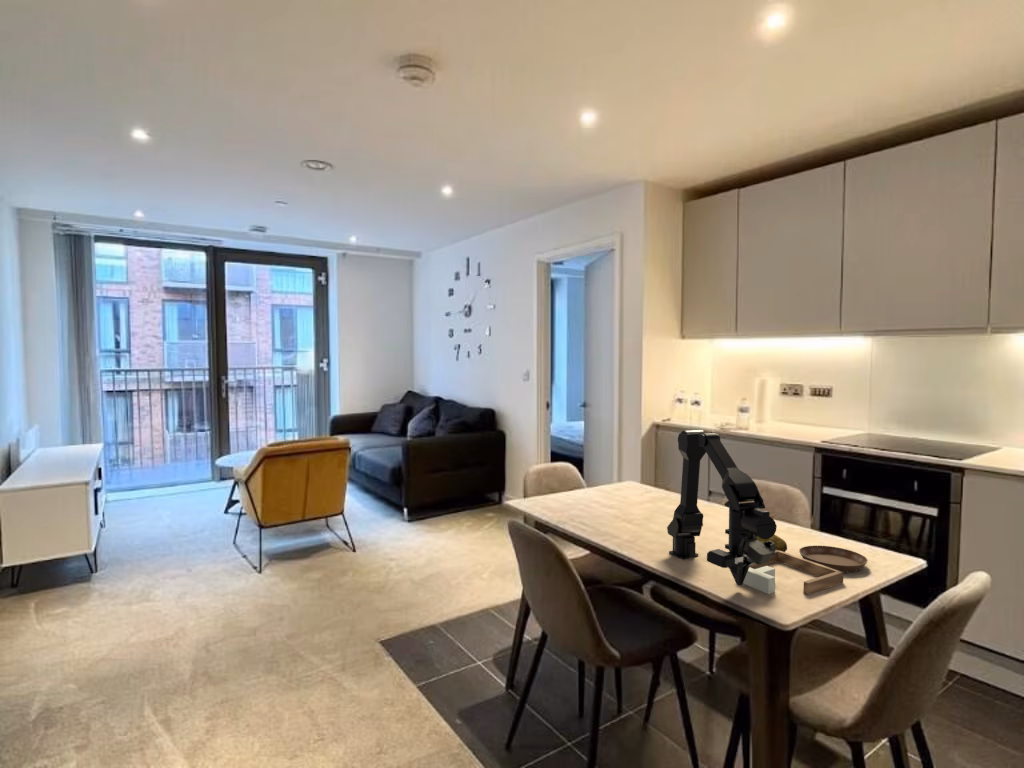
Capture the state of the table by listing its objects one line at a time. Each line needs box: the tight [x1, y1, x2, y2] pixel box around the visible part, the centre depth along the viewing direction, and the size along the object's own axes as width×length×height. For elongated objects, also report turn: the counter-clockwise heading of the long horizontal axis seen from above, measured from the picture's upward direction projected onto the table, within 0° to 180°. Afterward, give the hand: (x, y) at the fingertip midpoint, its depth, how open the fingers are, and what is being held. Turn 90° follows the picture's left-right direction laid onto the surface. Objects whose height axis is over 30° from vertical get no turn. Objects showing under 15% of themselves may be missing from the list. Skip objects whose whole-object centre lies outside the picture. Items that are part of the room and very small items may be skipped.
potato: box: [757, 534, 788, 553], centre depth 180 cm, size 8×13×8 cm, turn 38°
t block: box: [742, 565, 776, 595], centre depth 154 cm, size 10×8×4 cm
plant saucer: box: [798, 545, 869, 573], centre depth 169 cm, size 18×18×3 cm
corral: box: [750, 550, 844, 595], centre depth 160 cm, size 20×15×3 cm
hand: (739, 585), depth 150 cm, fingers closed
